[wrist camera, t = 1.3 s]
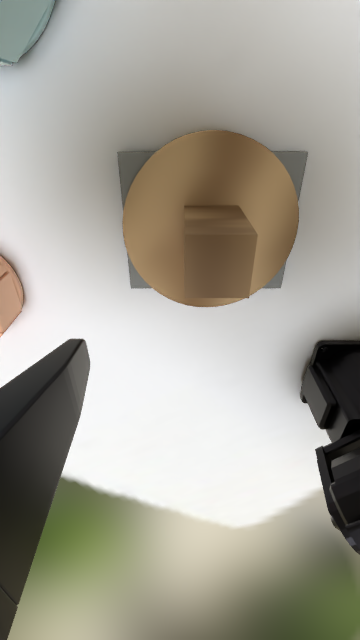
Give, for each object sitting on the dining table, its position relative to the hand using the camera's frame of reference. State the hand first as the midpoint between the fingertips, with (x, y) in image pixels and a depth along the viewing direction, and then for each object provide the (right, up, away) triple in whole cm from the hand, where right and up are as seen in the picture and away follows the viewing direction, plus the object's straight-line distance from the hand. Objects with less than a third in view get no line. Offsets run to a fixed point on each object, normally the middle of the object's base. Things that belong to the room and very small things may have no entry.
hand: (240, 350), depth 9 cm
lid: (0, +6, +9) cm, 11 cm away
